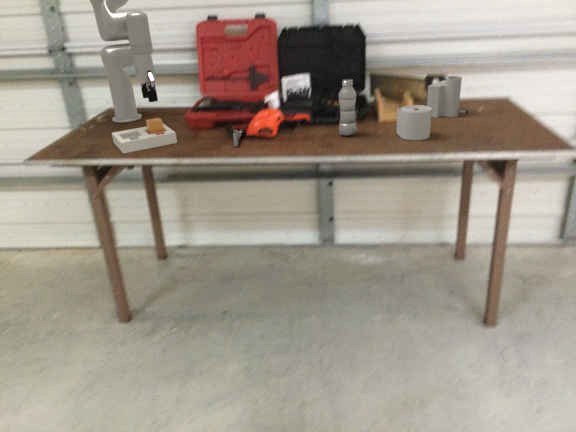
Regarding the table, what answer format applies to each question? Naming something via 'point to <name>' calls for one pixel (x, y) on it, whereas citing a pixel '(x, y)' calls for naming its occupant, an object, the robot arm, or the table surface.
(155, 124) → the plug
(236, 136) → the caliper
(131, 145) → the socket board
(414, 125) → the toilet tissue
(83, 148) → the table surface
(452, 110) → the grey cylinder cluster
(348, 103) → the plastic bottle
